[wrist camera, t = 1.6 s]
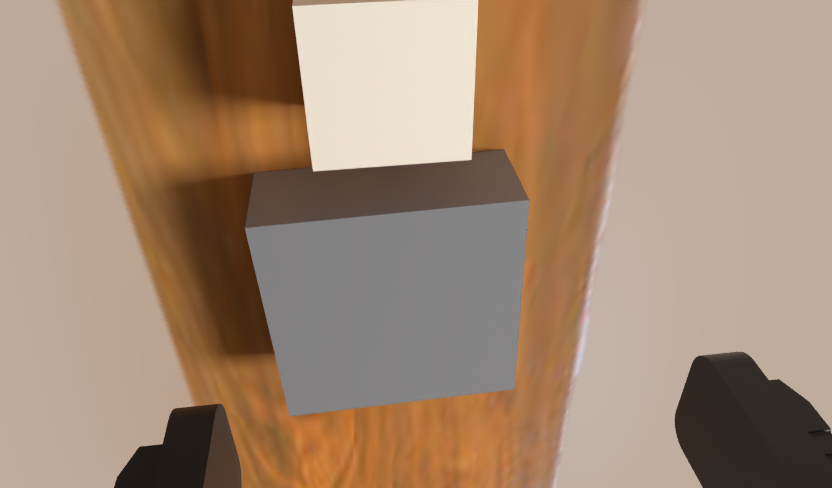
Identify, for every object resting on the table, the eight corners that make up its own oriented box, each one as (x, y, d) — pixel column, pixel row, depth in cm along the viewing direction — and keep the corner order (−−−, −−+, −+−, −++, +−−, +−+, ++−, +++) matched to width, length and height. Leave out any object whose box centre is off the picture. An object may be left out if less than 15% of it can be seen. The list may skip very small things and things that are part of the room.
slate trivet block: (254, 168, 30) (244, 228, 26) (502, 146, 31) (529, 199, 27) (292, 348, 37) (289, 416, 33) (493, 325, 38) (514, 389, 34)
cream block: (297, -38, 25) (292, 6, 20) (448, -45, 26) (478, -4, 21) (313, 105, 29) (312, 171, 24) (446, 96, 29) (471, 159, 24)
